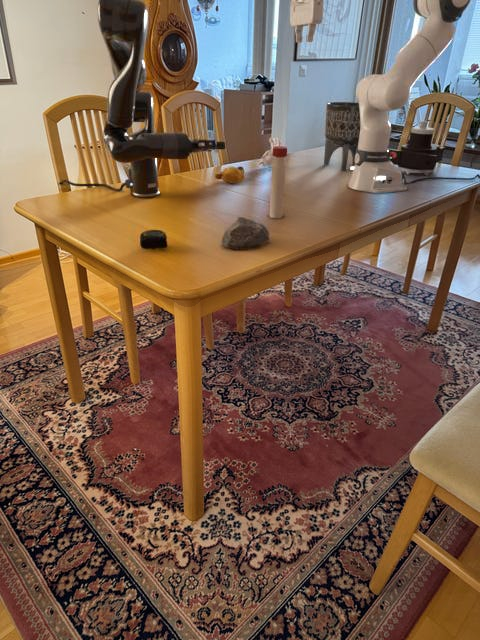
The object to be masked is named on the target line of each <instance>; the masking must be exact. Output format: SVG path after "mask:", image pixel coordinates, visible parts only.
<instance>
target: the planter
mask: <svg viewBox="0 0 480 640" xmlns="http://www.w3.org/2000/svg"><path fill="white" fill-rule="evenodd" d="M324 125H325V126H324V139H325V144H324V156H323V157H324V158H323V165H325V166H328V165H330V163H331V158H332V156H333V154H334V153H335V151H336V150H337V149H340V148H341V150H342V153H341V166H340V170H341V172H345V171H347V167H348V166H347V165H348V159H349V152H350V154H351V157H352V158H351V159H352V160H351V161H352V167H354V166H355V155H356V149H357V148H358V142H359V135H360V109H359V102H353V101H333V102H327V103H326V109H325V124H324Z"/></svg>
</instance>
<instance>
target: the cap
mask: <svg viewBox="0 0 480 640" xmlns="http://www.w3.org/2000/svg"><path fill="white" fill-rule="evenodd" d="M273 156H274V157H284V158H286V157H287V156H288V147H287V146H281V145H280V146H275V147H273Z"/></svg>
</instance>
